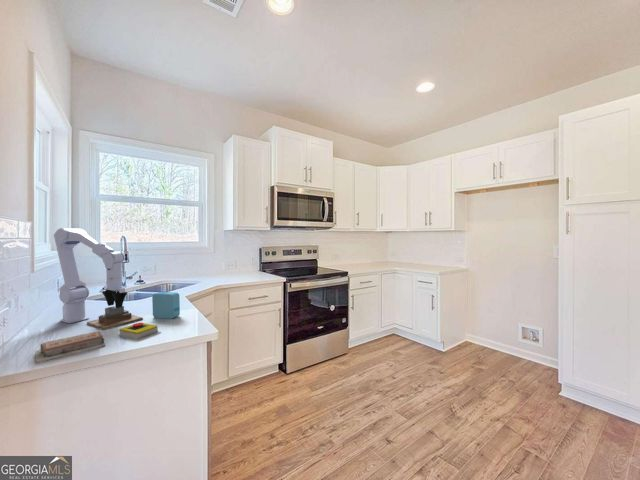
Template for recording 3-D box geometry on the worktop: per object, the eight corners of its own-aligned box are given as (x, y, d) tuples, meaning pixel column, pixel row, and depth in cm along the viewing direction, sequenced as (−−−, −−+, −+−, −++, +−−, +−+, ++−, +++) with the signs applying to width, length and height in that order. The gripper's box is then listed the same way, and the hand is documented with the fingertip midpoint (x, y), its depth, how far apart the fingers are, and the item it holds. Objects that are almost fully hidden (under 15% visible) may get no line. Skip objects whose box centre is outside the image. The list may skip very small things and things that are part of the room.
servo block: (100, 322, 127) (99, 307, 126) (124, 316, 135) (124, 302, 135) (104, 323, 125) (104, 308, 124) (128, 317, 133) (128, 303, 133)
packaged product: (100, 328, 109) (105, 334, 102) (100, 340, 109) (105, 347, 102) (34, 341, 96) (35, 350, 89) (35, 355, 96) (36, 365, 89)
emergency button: (138, 319, 122) (162, 323, 116) (138, 328, 122) (162, 333, 116) (116, 325, 113) (140, 330, 107) (116, 336, 113) (140, 341, 108)
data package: (180, 316, 138) (179, 292, 138) (173, 319, 134) (172, 294, 133) (159, 315, 141) (159, 291, 140) (152, 317, 136) (151, 293, 136)
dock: (86, 324, 127) (86, 316, 127) (125, 314, 141) (125, 308, 141) (103, 330, 119) (103, 322, 119) (142, 319, 133) (142, 312, 133)
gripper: (96, 277, 130) (97, 306, 130) (112, 280, 122) (112, 310, 123) (113, 275, 136) (114, 302, 136) (129, 277, 129) (130, 306, 129)
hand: (114, 306), depth 130 cm, fingers open, 7 cm apart
